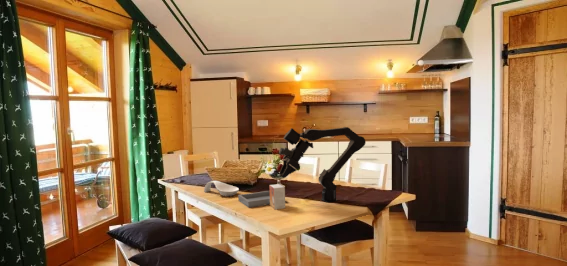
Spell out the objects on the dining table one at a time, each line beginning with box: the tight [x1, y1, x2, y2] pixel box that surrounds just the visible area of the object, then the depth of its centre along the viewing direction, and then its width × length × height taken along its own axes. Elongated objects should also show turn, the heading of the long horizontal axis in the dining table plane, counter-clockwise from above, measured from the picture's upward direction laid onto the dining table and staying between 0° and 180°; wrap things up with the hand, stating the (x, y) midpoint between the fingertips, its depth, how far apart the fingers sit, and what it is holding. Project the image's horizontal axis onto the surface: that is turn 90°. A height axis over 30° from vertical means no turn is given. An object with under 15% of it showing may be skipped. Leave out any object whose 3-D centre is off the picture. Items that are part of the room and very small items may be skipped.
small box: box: [268, 183, 286, 210], centre depth 185 cm, size 8×6×10 cm
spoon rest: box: [203, 180, 240, 197], centre depth 216 cm, size 24×12×7 cm, turn 55°
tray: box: [237, 190, 270, 209], centre depth 197 cm, size 20×16×3 cm
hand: (281, 175), depth 190 cm, fingers open, 9 cm apart
